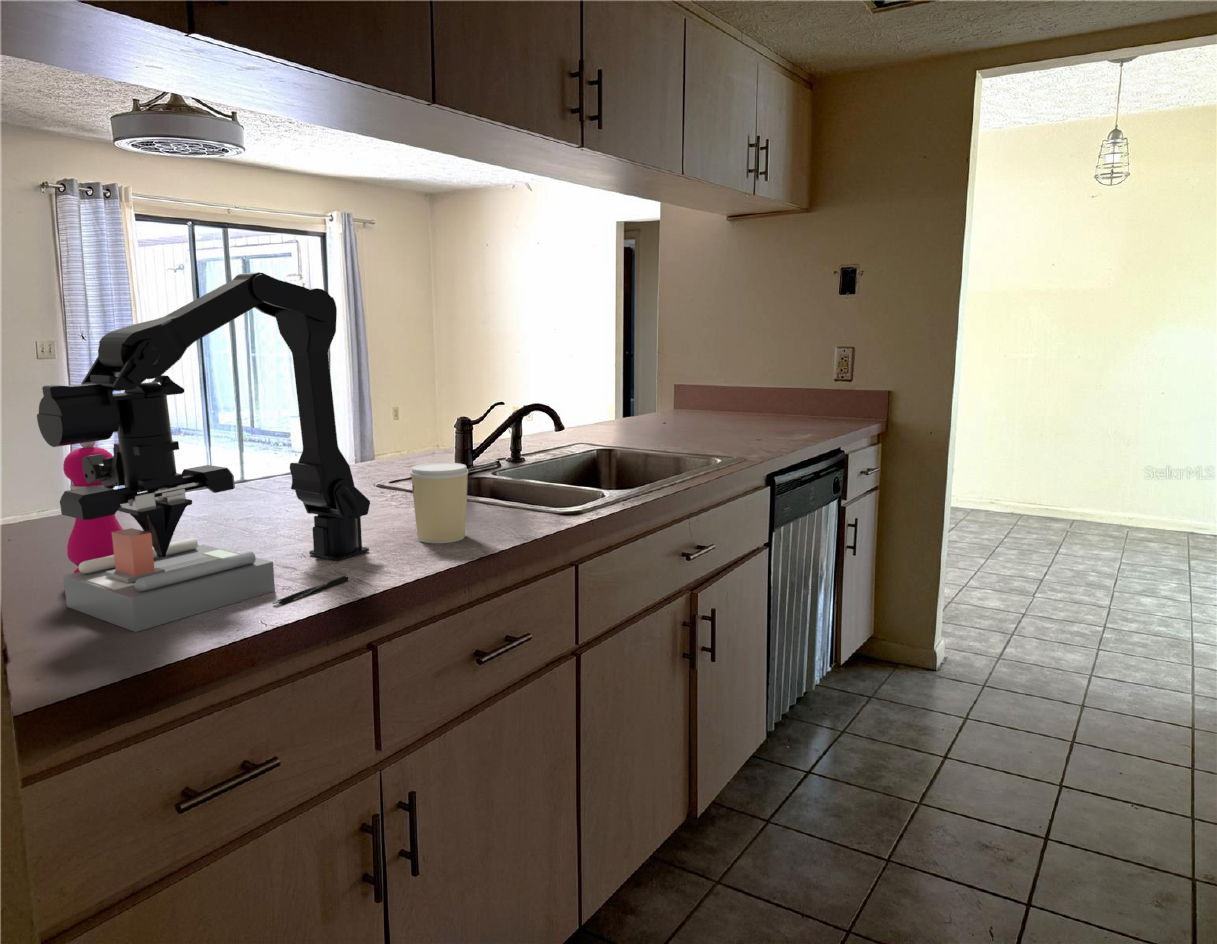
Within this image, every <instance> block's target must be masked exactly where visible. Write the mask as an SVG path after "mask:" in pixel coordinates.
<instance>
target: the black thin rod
mask: <svg viewBox="0 0 1217 944" xmlns="http://www.w3.org/2000/svg"><path fill="white" fill-rule="evenodd" d="M349 579H350V578H349V576H346V575H343V576H341V577H337V578H336V579H335V578H334V579H333V580H329V581H326V582H324V583H322V584H319V585H316V586H313V587H310V588H306V589H303V590H301V591H298V592H295V593H292V594H290V595H287V596H285V597H283V598H281V599H277V600H276V601H273V602H272V604H273V607H275V608H278V607H280V606H284V605H286V604H289V603H292V602H294V601H297V600H299V599H302V598H305V597H308V596H311V595H312V596H313V595H314V594H318V593H319V592H323V591H325V590H327V589H331V588H332V587H334V586H339V585H340V584H343V583H347V582H349Z"/></svg>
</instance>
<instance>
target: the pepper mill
mask: <svg viewBox="0 0 1217 944" xmlns="http://www.w3.org/2000/svg"><path fill="white" fill-rule="evenodd" d="M79 445H80V447H79V448H76V449H74V450H72V451H70V452H69V453H68V454H67V455H66V457H65V458H64V460H63V464H62V466H63V469H62V470H63V472H64V476H65V477H66V478H68V480H70V481H71V482H72V484H71V485H70V486H69V489H70V490H73V489H79V488H84V487H90V486H100V487H103V484H102V481H100V482H95V483H88V482H87V481H86V479H85V476H84V473H83V465H82V459H83V458H84V457H86V456H91V455H98V454H102V455H103V456H104V458H105V459H108V458H113V456H114V454H112V453H111V452H110V451H108V450H107V449H105V448H102V447H97V446H96V441H94V442H87V443H79ZM120 530H124V529H123V527H122V525H121V524H120V522H119V521H118V519H117V517H116V514H115V515H110V516H105V517H100V518H96V519H91V520H82V519H77V518H75V520H74V524H73V527H72V530H71V533H70V535H69V537H68V540H67V545H66V547H67V549H66V551H67V553H66V554H67V558H68V560H69V561H70V562H71V563H72V564H74V565H75V566H76V567H77V568H76V569H74V571H73V573H77V572H80V571H79V565H80V563H82V562H83V561H87V560H92V559H97V558H101V557H106V556H111V555H114V549H113V539H112V532H115V531H120Z"/></svg>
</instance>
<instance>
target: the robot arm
mask: <svg viewBox="0 0 1217 944" xmlns="http://www.w3.org/2000/svg"><path fill="white" fill-rule="evenodd" d="M252 309H256V310H257V311H259V312H261V313H263V314H265V315H267V316H270V317H273V318H275V319H276V325H277V327H278V332H279V334H280V335H281V338H282V339H283V341H284V342H285V343H286V346H287V347H288V349H289V350H290V352H291V354H292V363H293V371H294V372H293V373H294V380H295V381H294V383H295V388H296V390H295V391H296V398H297V406H298V407H297V408H298V415H299V425H300V432H301V441H302V442H301V443H302V452H301V454H300V456H299V460H298V462H290V464H289V470H290V474H291V475H290V476H291V486H290V490H292V491H295V494H296V497H297V499H298V500H299V501H301V502H302V503H303V506H304V508H305V511H306V513H307V514H309V515H311V514H312V515H314V516H313V523H314V526H312V542H313V543H312V544H313V549H312V550H309V555H312V556H316V557H321V558H323V559H328V560H329V559H330V560H334V561H337V560H338V561H339V560H341V559H346V558H349V557H352V556H357V555H360V554H364V553H367V552H370V548H369V547H366V546H363V543H362V542H363V541H362V523H361V522H362V521H361V517H364V516H367V515H369V514H368V513H369V509H370V505H371V500H369V498H368V497H367V496H365V495H364V494H363V493H362V492H361V491H360V490H359V489H358V488H357V487H356V486H355V483H354V482H355V481H354V477H353V474H352V470H351V466H350V464H349V462H348V460H346V457H345V456H344V455H343V453H342V452H341V450H340V448H339V443H338V437H337V435H338V434H337V426H336V425H337V424H336V415H335V407H334V396H333V389H332V379H331V369H330V368H331V367H330V358H329V350H330V347H331V345H332V343H333V340H334V337H335V334H336V333H337V317H338V316H337V315H338V310H337V304H336V301H335V298H334V297H333V296H331V295H330V293H329V292H327V291H326V290H324V289H322V288H315V287H314V288H307V287H305V286H301V285H298V284H295V283H292V282H287V281H284V280H281V279H277V278H275V277H273V276H270V275H268V274H266V273H264V272H243V273H239V274H237V275H236V276H235V277H234V278H233V279H231V280H230V281H228V282H226V283H225V284H222V285H220V286H218V287H217V288H214V289H213V290H211V291H209V292H207V293H205V294H204V295H202V296H200V297H198V298H196V299H194V300H193V301H191V302H189V303H187V304H185V305H183V306H182V307H180V308H178V309H176V310H174V311H172V312H170V313H168V314H166V315H165V316H161V317H159V318H155V319H151V320H147V321H144V322H139V323H135V324H131V325H128V326H124V327H121V328H118V329H114V330H112V331H109V332H107V333H106V334H105V335H103V336H102V337H101V338H100V340H99V342H98V349H97V357H96V359H95V361H94V362H93V364H92V366H91V367H90V369H89V370H88V372H87V373H86V375H85V377H84V379H83V380H82V382H81V383H80V384H73V385H72V384H71V385H61V384H60V385H59V384H50V385H43V386H42V389H41V390H42V393H43V396H42V398H41V399H40V401H39V405H38V413H36V419H37V425H38V429H39V431H40V434H41V436H42V438H43V440H44V441H45V442H46V443H47V444H48V445H49V446H50V447H53V448H56V447H64V446H71V445H78V444H79V445H80V443H87V442H94V441H95V442H100V441H106V440H109V439H110V438H111V437H112V436H113V434H114V433H117V440H118V442H116V443H113V448H112V451H113V458H108V459H105V458H104V456H103V455H102V454H98V455H91V456H86V457H84V458H83V459H82V465H83V473H84V476H85V479H86V481H87V482H88V483H95V482H100V481H102V484H103V487H100V486H90V487H84V488H79V489H73V490H71V489H68V490H64V492H63V494H61V497H60V500H59V506H60V511H61V515H62V516H66V517H69V518H70V517H71V518H74V519H76V518H77V519H82V520H91V519H96V518H100V517H105V516H110V515H115V516H116V514H117V512H120V513H123V514H124V513H125V514H129V515H130V516H132V517H133V518H134V521H136V522H137V523H138V525H139V526H140V527H141V529H142V531H145V532H150V533H151V536H152V547H153V548H154V550H155V551H156V553H157V556H158V557H159V558H164V557H166V552H167V550H168V547H169V544H170V543H172V539H173V536H174V534H175V532H176V531H175V530H176V528H177V526H178V524H179V522H180V520H181V518H182V516H183V514H184V512H185V510H186V508H187V507H188V506H191V505H193V500H192V499H189V498H186V492H187V491H192V490H196V489H202V488H206V489H207V490H208V491H210V492H212V493H214V494H217V493H221V492H226V491H231V490H234V489H235V488H236V484H235V476H234V474H233V472H232V471H231V470H230V469H229V468H228V467H223V466H216V465H211V464H206V465H200V466H195V467H190V468H183V470H182V472H181V473H178V472H177V467H176V466H177V465H176V459H175V458H176V457H175V451H177V450H180V445H179V440H173V434H172V428H171V420H170V411H169V405H168V398H167V396H172V395H174V396H175V395H182V394H184V393H185V389H184V388H183V387H182V386H180V385H179V384H178V383H176V382H174V380H172V379H171V377H170V376H169V375H164V374H165V373H166V372H167V371H169V370H170V369H171V368H172V367H173V366H174V365H175V364H176V363H178V362H179V361H180V360H181V359H182V357H183V356H184V354H185V353H186V351H187V350H188V348H189V347H191V346H192V345H193V344H195V342H197V341H199V340H200V339H201V340H202V338H204V337H206V336H207V335H209V334H211V333H213V332H214V331H216V330H218V329H219V328H221V327H223V326H225V325H227V324H228V323H230V322H232V321H233V320H235V319H237V318H238V317H240V316H242V315H244V314H245V313H247V312H248V311H249V312H250V310H252ZM146 380H152V381H149V382H145V381H146ZM114 391H115V392H116V391H117V392H119V393H113V392H114ZM122 391H123V392H122ZM122 486H124V487H122ZM115 487H121V488H116V489H115Z"/></svg>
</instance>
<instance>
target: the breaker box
mask: <svg viewBox="0 0 1217 944" xmlns="http://www.w3.org/2000/svg"><path fill="white" fill-rule="evenodd" d="M153 557H154V567H157V568H160V569H164V570H165V572H164V573H160V574H155V575H151V576H147V577H143V578H140V579H138V580H136V582H132V583H125V582H122V581H119V580H116V579H113V578H109V577H106V573H105V572H106V571H110V570H115V559H114V555H111V556H106V557H101V558H97V559H92V560H87V561H83V562H82V563H80V565H79V571H80V572H77V573H74V572H73V573H69V574H65V575H63V584H64V593H65V594H64V595H65V602H66V607H67V608H70V609H72V610H75V611H77V612H80V613H83V614H86V615H88V616H91V617H94V618H96V619H99V620H102V621H105V622H108V623H110V624H113V625H115V626H117V627H118V626H119V627H121V628H123V629H126V630H128V631H131V632H135V633H137V632H141V631H145V630H147V629H151V628H154V627H158V626H160V625H164V624H167V623H168V624H169V623H171V622H174V621H179V620H181V619H184V618H189V617H191V616H195V615H197V614H202V613H204V612H209V611H211V610H216V609H219V608H222V607H225V606H229V605H232V604H235V603H238V602H239V603H240V602H242V601H246V600H248V599H252V598H256V597H259V596H262V595H266V594H269V593H273V592H275V591H276V588H275V570H274V561H273V560H267V559H263V558H259V557H256V555H255V553H254V552H253V551H247V552H242V553H239V552H235V551H230V550H226V549H223V548H218V547H214V546H209V545H206V544H199V542H198V540H197V539H196V538H195V537H191V538H187V539H181V540H177V541H173V542H172V541H171V542H170V544H169V547H168V550H167V552H166V557H164V558H159V557H158V556H157V553H156V551H155V550H154V548H153Z"/></svg>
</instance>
